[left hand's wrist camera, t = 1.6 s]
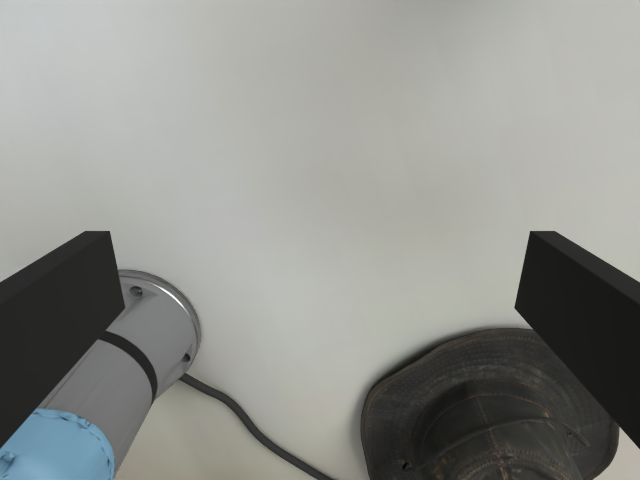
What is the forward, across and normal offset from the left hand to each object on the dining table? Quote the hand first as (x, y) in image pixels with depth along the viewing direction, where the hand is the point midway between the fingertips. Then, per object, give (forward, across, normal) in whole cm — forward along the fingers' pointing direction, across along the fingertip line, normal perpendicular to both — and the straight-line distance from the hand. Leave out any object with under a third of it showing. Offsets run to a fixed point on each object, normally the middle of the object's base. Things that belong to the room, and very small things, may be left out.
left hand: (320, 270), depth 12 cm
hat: (+28, +22, -38) cm, 52 cm away
